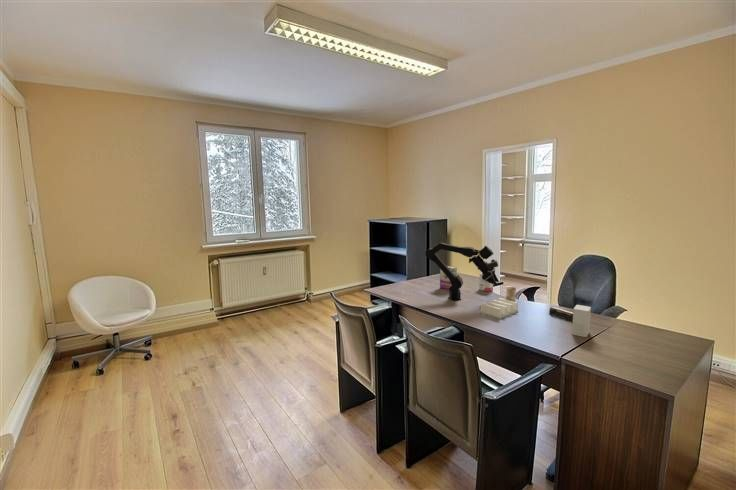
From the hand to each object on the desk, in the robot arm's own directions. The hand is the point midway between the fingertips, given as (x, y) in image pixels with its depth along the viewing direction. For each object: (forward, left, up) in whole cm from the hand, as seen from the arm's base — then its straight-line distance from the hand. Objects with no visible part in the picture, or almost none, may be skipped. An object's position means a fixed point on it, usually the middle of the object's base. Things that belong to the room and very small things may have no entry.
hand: (497, 283), depth 215 cm
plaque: (+5, -6, -13) cm, 15 cm away
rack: (-9, -14, -13) cm, 21 cm away
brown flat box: (+20, -29, -14) cm, 38 cm away
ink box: (+12, +29, -13) cm, 34 cm away
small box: (+9, -52, -13) cm, 54 cm away
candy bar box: (-12, +40, -13) cm, 44 cm away
